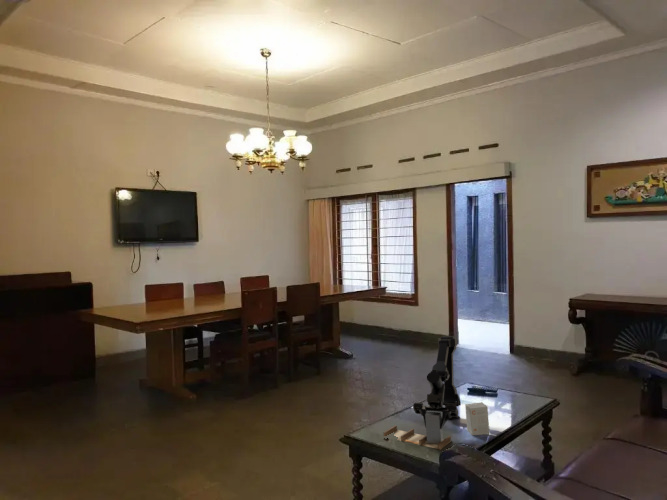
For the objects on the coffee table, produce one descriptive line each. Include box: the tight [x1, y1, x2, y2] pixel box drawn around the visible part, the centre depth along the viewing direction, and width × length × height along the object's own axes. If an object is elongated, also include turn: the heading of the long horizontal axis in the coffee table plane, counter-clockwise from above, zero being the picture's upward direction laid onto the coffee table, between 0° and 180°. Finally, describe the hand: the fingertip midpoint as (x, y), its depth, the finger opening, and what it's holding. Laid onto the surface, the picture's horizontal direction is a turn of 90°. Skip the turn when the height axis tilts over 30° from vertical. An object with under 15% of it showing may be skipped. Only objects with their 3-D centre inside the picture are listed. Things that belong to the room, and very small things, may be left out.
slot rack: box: [383, 424, 452, 450], centre depth 224 cm, size 28×10×3 cm, turn 51°
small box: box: [465, 402, 490, 437], centre depth 227 cm, size 8×6×13 cm
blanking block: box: [425, 411, 444, 445], centre depth 218 cm, size 6×4×12 cm, turn 66°
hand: (433, 428), depth 217 cm, fingers closed on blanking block, 6 cm apart
